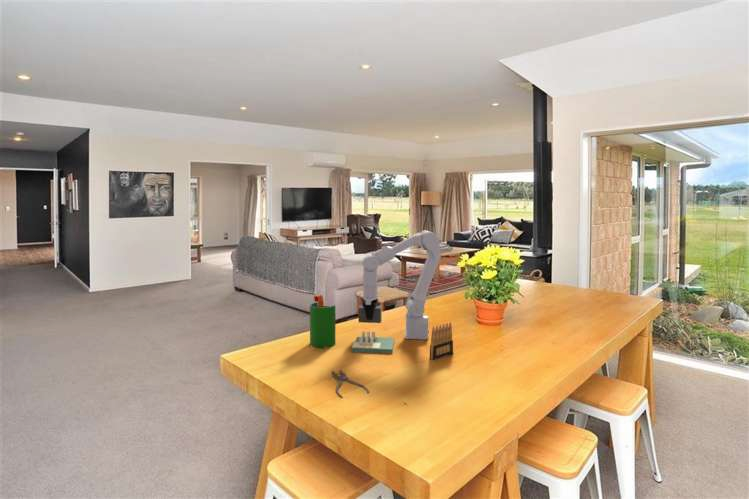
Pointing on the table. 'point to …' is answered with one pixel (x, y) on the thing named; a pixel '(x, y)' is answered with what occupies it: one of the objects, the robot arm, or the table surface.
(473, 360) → the table surface
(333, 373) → the pliers
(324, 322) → the green and brown cylinder
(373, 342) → the header board
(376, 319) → the block
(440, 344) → the ammunition clip
